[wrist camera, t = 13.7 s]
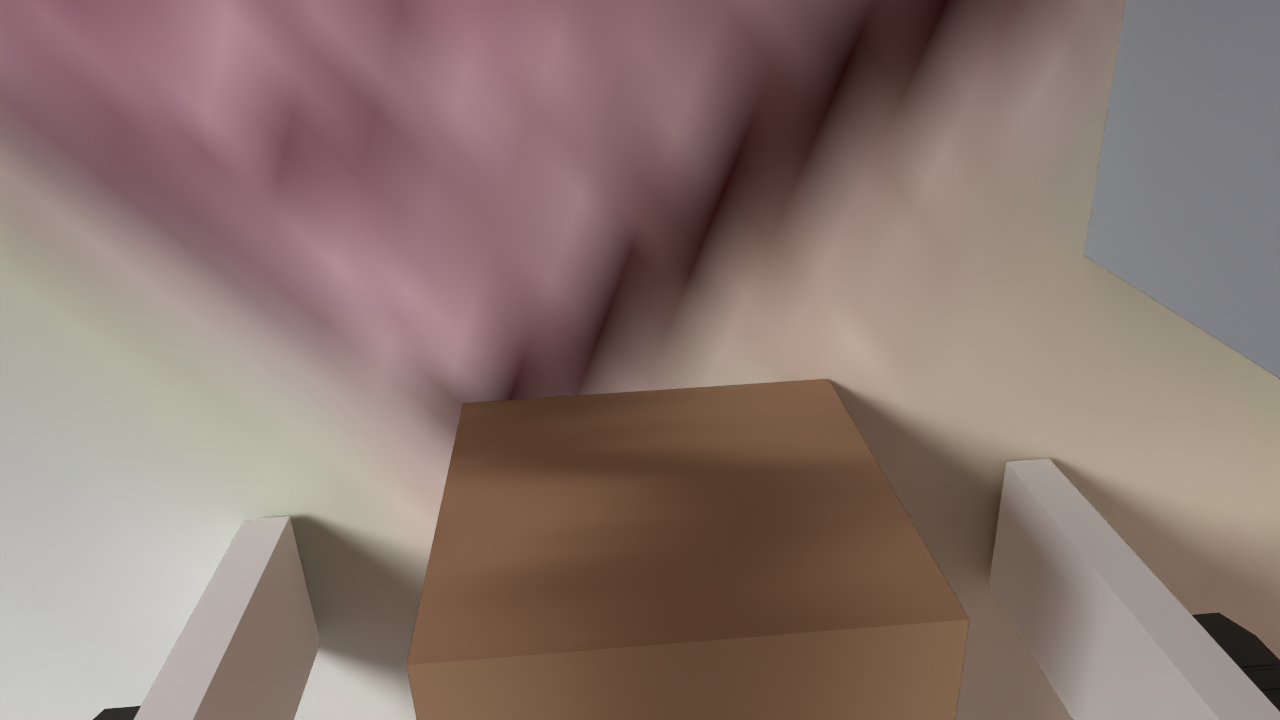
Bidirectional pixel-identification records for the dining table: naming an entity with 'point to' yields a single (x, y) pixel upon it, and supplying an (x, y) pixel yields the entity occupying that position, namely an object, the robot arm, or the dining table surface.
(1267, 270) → the slate block
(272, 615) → the robot arm
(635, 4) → the dining table surface
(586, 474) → the walnut cube
